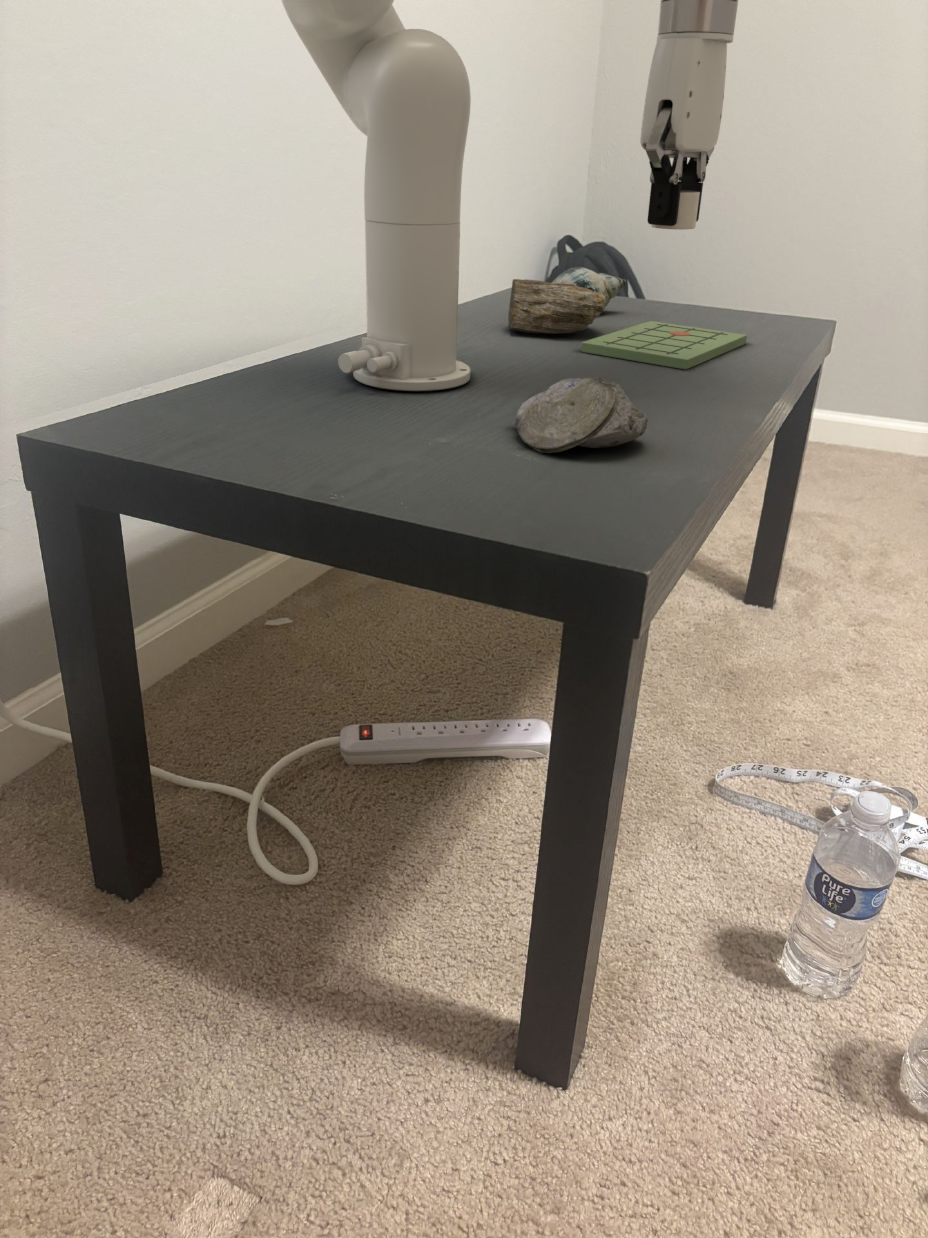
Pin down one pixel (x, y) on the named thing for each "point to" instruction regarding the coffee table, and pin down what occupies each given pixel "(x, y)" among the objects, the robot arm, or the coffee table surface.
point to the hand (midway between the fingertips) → (673, 221)
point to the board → (664, 344)
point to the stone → (552, 307)
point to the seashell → (592, 281)
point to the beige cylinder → (685, 211)
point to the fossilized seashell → (579, 416)
